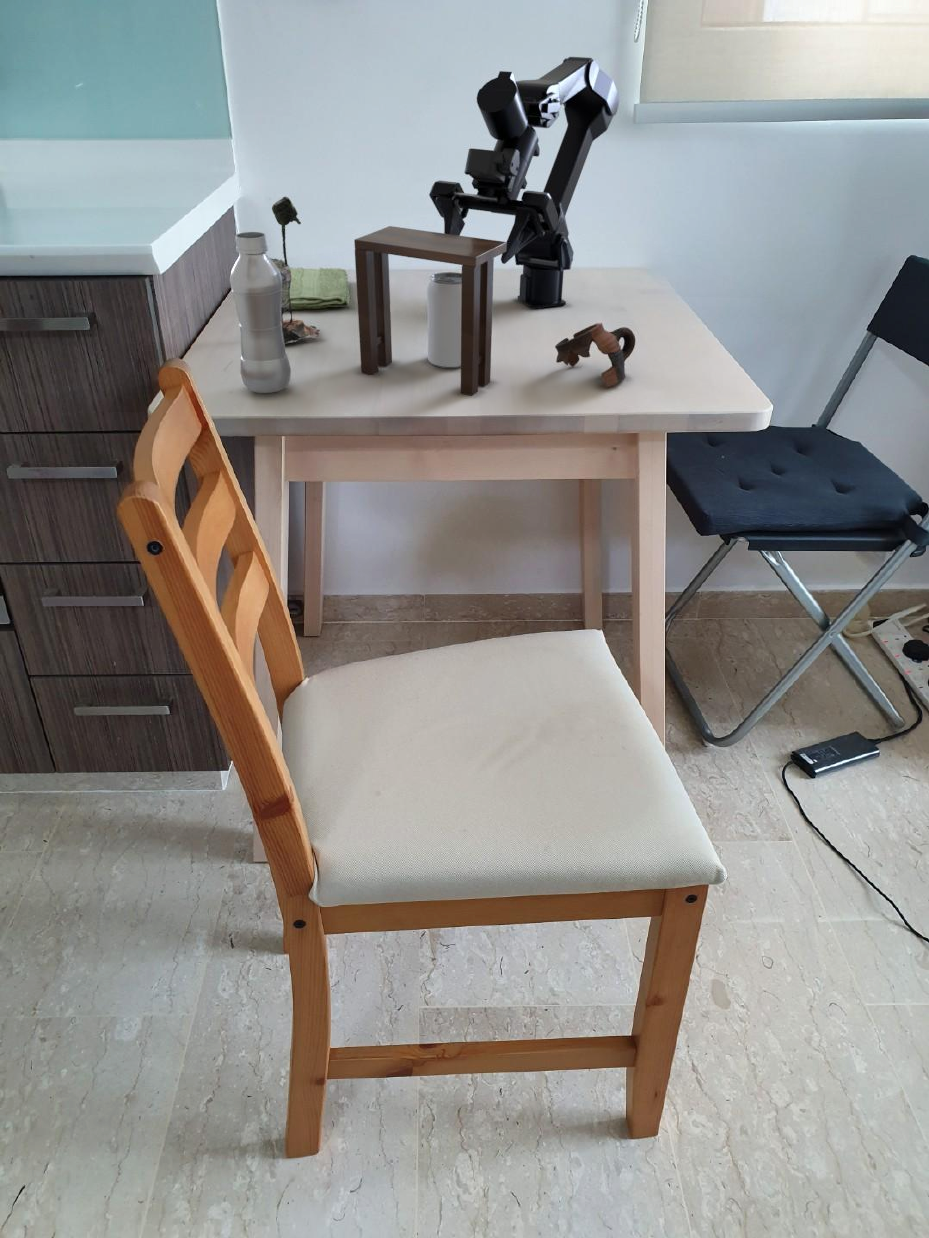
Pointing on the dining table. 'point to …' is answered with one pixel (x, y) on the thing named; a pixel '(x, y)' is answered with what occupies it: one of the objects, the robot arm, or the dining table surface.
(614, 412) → the dining table surface
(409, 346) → the dining table surface
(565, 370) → the dining table surface
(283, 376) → the plastic bottle
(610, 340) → the brown jagged looped part
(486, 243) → the desk
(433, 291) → the can
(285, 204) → the plant with pod
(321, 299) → the washcloth
